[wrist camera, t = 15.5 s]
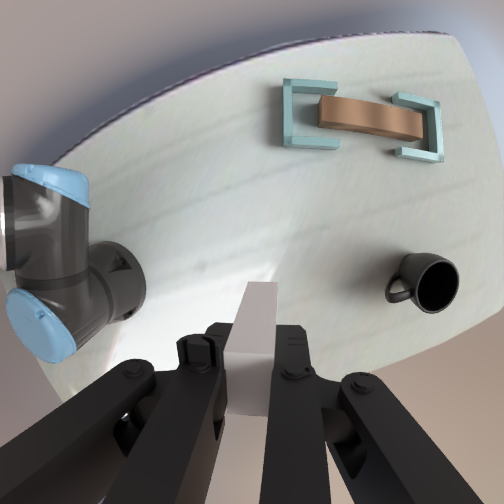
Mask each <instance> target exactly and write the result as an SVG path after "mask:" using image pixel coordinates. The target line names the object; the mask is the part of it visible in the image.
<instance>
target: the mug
mask: <svg viewBox="0 0 504 504" xmlns="http://www.w3.org/2000/svg"><path fill="white" fill-rule="evenodd" d="M397 281H401V282H402V285H403V288H404V290H405V291H402V292H399V293H390V290H391V288H392V286H393V284H394V283H396V282H397ZM458 287H459V274H458V270H457V268H456V267H455V265H454V264H453V263H452V262H451V261H449V260H447V259H445V258H443V257H441V256H439V255H435V254H431V253H416V254H410V255H408V256H406V257H405V258H404V259H403V260H402V262H401V264H400V267H399V272H396V273H394V274H393V275H392V276H391V278H390V280H389V282H388V284H387V286H386V289H385V297H386V299H387V301H388V302H389V303H398V302H401V301H404V300H407V299H409V298H410V299H411V301H412V302H413V303H414V304H415V305H416V306H417V307H418V308H419V309H421V310H422V311H423V312H426V313H430V314H434V313H438V312H440V311H442V310H444V309H445V308H447V307H448V306H449V305H450V304H451V302H452V301H453V299H454V298H455V296H456V294H457V291H458Z"/></svg>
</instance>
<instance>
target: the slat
mask: <svg viewBox="0 0 504 504" xmlns="http://www.w3.org/2000/svg"><path fill="white" fill-rule="evenodd" d="M318 127H321V128H330V129H339V130H346V131H354V132H360V133H367V134H373V135H379V136H384V137H390V138H395V139H400V140H405V141H409V142H413V141H416V140H419V139H422V138H423V128H422V114H420V113H417V112H413V111H409V110H405V109H401V108H396V107H392V106H387V105H382V104H377V103H372V102H367V101H361V100H355V99H349V98H342V97H334V96H326V95H322V96H321V98H320V101H319V103H318Z"/></svg>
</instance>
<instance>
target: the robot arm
mask: <svg viewBox="0 0 504 504" xmlns="http://www.w3.org/2000/svg"><path fill="white" fill-rule="evenodd" d="M11 174H12V176H1V177H0V269H1V270H2V271H10V270H15V277H16V285H17V288H13V289H12V290H11V292H9V293H8V295H7V300H6V310H7V314H8V318H9V320H10V323H11V325H12V327H13V329H14V331H15V333H16V334H17V336H18V337H19V339H20V340H21V342H22V343H23V344H24V345H25V347H27V349H28V350H29V351H30V352H31V353H32V354H34V355H35V356H36V357H38V358H39V359H41V360H43V361H45V362H48V363H54V364H55V363H59V362H62V361H63V360H65V359H66V358H67V357H69V356H70V355H73V354H74V353H75V352H76V351H77V350H78V349H79V348H81V347H82V346H83V345H84V344H85V343H86V342H87V341H88V340H90V339H91V338H92V337H93V336H94V335H95V334H96V333H97V332H99V331H100V330H101V329H102V328H103V327H104V326H106V325H107V324H111V323H116V322H120V321H124V320H127V319H129V318H130V317H132V316H133V315H134V314H135V313H136V312H137V311H138V310H139V309H140V308H141V306H142V305H143V302H144V299H145V295H146V282H145V277H144V274H143V271H142V268H141V266H140V264H139V263H138V261H137V259H136V258H135V257H134V255H133V254H132V253H131V252H130V251H129V250H127V249H126V248H125V247H123V246H122V245H120V244H118V243H115V242H109V241H106V242H101V243H98V244H95V245H92V246H90V247H89V246H88V234H89V209H90V205H89V181H88V179H87V177H86V176H85V175H84V174H83V173H81V172H78V171H74V170H70V169H65V168H59V167H53V166H45V165H32V164H30V165H29V164H15V165H14V166H13V169H12V170H11ZM277 292H278V283H276V282H248V284H247V287H246V290H245V292H244V295H243V298H242V301H241V304H240V307H239V309H238V312H237V315H236V318H235V321H234V323H218V322H215V323H214V324H212V325H211V326H209V327H208V328H207V330H206V332H205V334H192V335H187V336H184V337H182V338H180V339H179V340H178V341H177V342H176V343H177V351H178V357H179V366H178V368H177V369H176V370H170V371H154V367H153V365H152V364H151V363H150V362H148V361H146V360H142V359H130V360H126V361H123V362H121V363H119V364H118V365H117V366H115V367H114V368H112V369H111V370H110V371H108V372H107V373H105V374H104V375H103V376H101V377H100V378H99V379H97V380H96V381H94V382H93V383H92V384H90V385H89V386H87V387H86V388H85V389H83V390H82V391H80V392H79V393H78V394H76V395H75V396H73V397H72V398H71V399H69V400H68V401H66V402H65V403H63V404H62V405H61V406H59V407H58V408H56V409H55V410H54V411H52V412H51V413H49V414H48V415H46V416H45V417H44V418H42V419H41V420H39V421H38V422H37V423H35V424H34V425H32V426H31V427H29V428H28V429H27V430H25V431H24V432H22V433H21V434H19V435H18V436H17V437H15V438H14V439H12V440H11V441H10V442H8V443H6V444H5V445H3V446H2V447H0V504H98V503H99V502H100V501H101V500H102V499H103V498H104V497H105V496H106V497H105V499H104V501H103V502H102V504H204V503H205V500H206V496H207V492H208V488H209V484H210V481H211V476H212V473H213V469H214V465H215V461H216V457H217V454H218V450H219V446H220V442H221V438H222V434H223V430H224V426H225V416H224V414H225V410H226V406H227V413H228V414H238V415H249V416H266V417H268V424H267V435H266V445H265V455H264V464H263V474H262V483H261V492H260V500H259V504H331V495H330V484H329V473H328V463H327V454H326V445H325V441H326V443H327V446H328V448H329V451H330V453H331V455H332V457H333V459H334V461H335V464H336V466H337V468H338V470H339V472H340V474H341V476H342V478H343V480H344V483H345V485H346V487H347V489H348V491H349V493H350V495H351V497H352V499H353V501H354V503H355V504H484V503H483V502H482V501H481V500H480V498H479V497H478V496H477V495H476V493H475V492H474V491H473V490H472V488H471V487H470V486H469V485H468V483H467V482H466V481H465V480H464V478H463V477H462V476H461V475H460V473H459V472H458V471H457V470H456V469H455V467H454V466H453V465H452V464H451V462H450V461H449V460H448V459H447V458H446V456H445V455H444V454H443V453H442V452H441V450H440V449H439V448H438V447H437V445H436V444H435V443H434V442H433V441H432V440H431V438H430V437H429V436H428V435H427V434H426V432H425V431H424V430H423V429H422V427H421V426H420V425H419V424H418V423H417V421H416V420H415V419H414V418H413V417H412V416H411V414H410V413H409V412H408V411H407V410H406V409H405V407H404V406H403V405H402V404H401V403H400V401H399V400H398V399H397V398H396V397H395V396H394V394H393V393H392V392H391V391H390V390H389V388H387V386H386V385H385V384H384V383H383V381H382V380H381V379H379V378H378V377H377V376H375V375H373V374H370V373H365V372H355V373H351V374H348V375H346V376H345V377H344V378H343V379H342V381H341V382H336V381H330V380H327V379H324V378H322V377H319V376H318V375H317V374H316V372H315V370H314V368H313V367H312V366H311V362H310V355H309V348H308V341H307V335H306V331H305V330H304V329H303V328H302V327H301V326H300V325H276V317H277ZM126 413H127V414H128V415H127V416H126V417H125V418H123V419H121V418H122V417H123V416H124V415H125V414H126Z"/></svg>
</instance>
